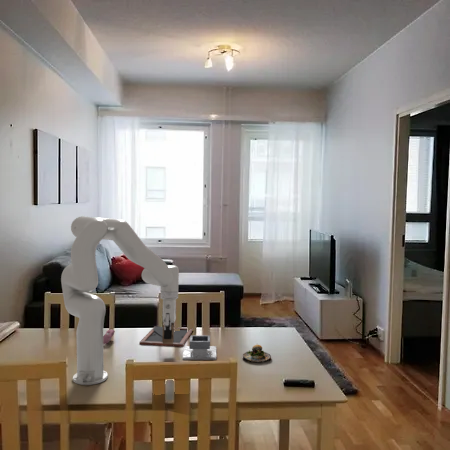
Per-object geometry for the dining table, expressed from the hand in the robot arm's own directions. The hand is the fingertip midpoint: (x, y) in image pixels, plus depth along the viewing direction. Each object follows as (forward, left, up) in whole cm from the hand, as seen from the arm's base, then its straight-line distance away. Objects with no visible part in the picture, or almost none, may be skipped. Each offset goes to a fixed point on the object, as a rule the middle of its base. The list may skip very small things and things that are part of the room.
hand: (168, 336), depth 204 cm
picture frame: (+25, +2, -9) cm, 26 cm away
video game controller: (+16, +30, -8) cm, 35 cm away
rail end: (0, 0, -2) cm, 2 cm away
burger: (-5, -38, -8) cm, 39 cm away
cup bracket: (+1, -14, -8) cm, 16 cm away
